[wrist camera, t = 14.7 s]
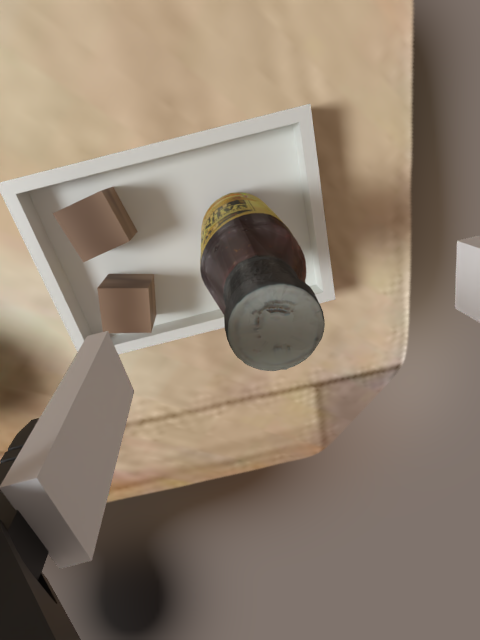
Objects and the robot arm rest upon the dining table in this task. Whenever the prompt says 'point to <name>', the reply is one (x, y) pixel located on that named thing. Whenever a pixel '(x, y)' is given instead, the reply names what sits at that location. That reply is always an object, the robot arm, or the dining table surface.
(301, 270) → the sauce bottle
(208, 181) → the tray
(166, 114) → the dining table surface
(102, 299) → the walnut block
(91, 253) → the walnut block
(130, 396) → the robot arm
